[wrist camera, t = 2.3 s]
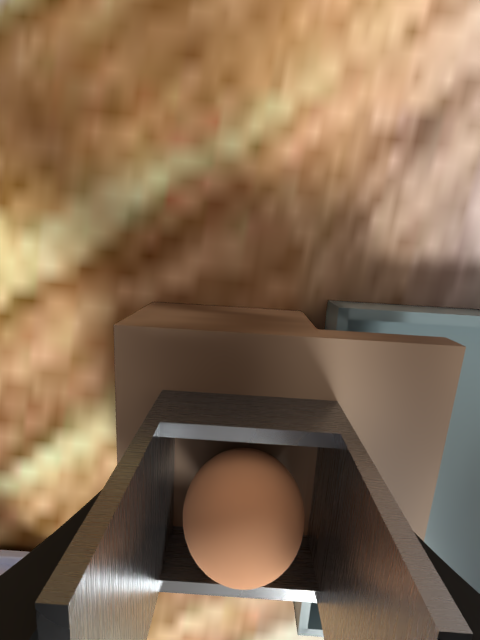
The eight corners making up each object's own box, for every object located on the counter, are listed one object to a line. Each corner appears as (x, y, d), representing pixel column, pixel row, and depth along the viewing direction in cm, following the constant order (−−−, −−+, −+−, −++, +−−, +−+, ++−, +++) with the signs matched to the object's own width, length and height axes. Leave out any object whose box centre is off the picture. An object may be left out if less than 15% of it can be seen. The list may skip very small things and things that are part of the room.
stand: (152, 493, 15) (120, 578, 11) (153, 302, 13) (113, 324, 9) (369, 508, 15) (411, 598, 11) (401, 317, 13) (465, 346, 9)
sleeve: (161, 535, 11) (61, 869, 5) (162, 390, 10) (34, 602, 4) (318, 546, 11) (400, 896, 5) (337, 400, 10) (472, 633, 4)
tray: (293, 597, 16) (297, 635, 15) (327, 300, 13) (338, 307, 12) (515, 613, 16) (543, 652, 15) (606, 317, 13) (655, 326, 11)
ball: (191, 511, 11) (169, 621, 8) (194, 422, 10) (170, 502, 7) (290, 518, 11) (308, 631, 8) (300, 429, 10) (324, 512, 7)
